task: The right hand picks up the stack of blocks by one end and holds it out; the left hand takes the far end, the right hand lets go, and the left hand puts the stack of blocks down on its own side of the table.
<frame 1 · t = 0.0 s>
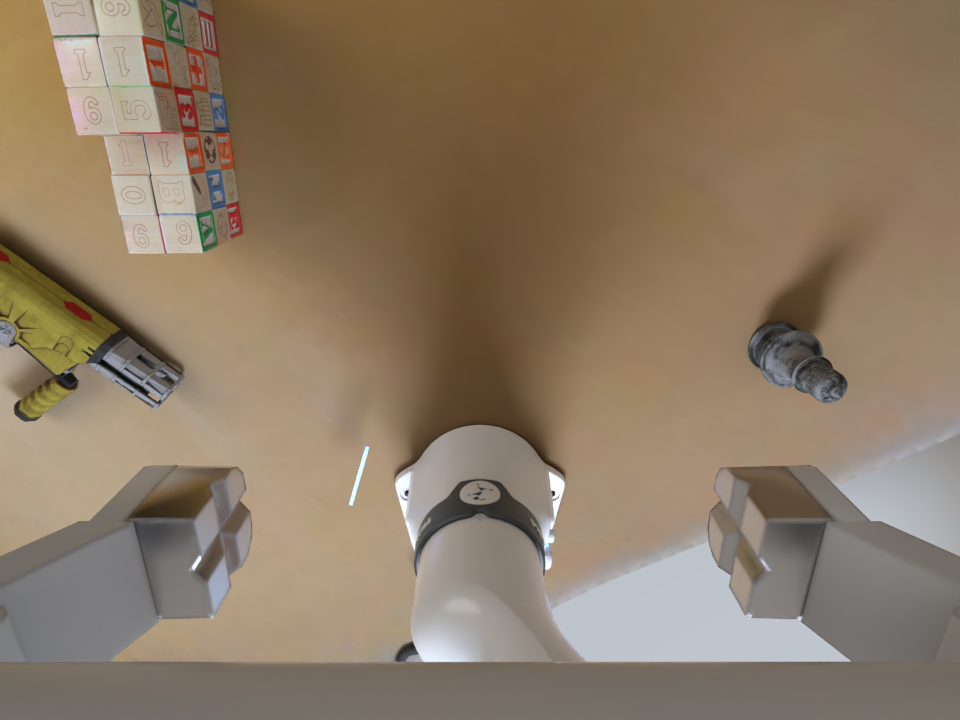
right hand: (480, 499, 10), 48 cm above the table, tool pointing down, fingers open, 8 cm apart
toy gun: (49, 346, 60), on the table
stack of blocks: (193, 114, 52), on the table
grey chess piece: (773, 346, 60), on the table
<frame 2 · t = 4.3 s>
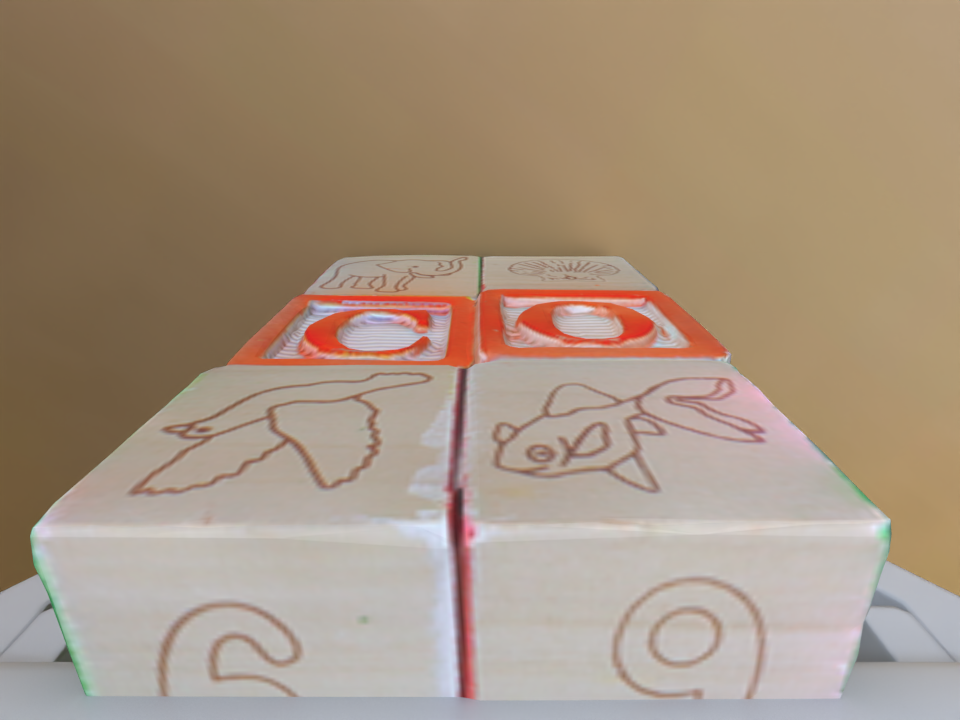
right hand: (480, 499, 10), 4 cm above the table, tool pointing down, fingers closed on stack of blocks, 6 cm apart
stack of blocks: (478, 631, 17), on the table, touching right hand
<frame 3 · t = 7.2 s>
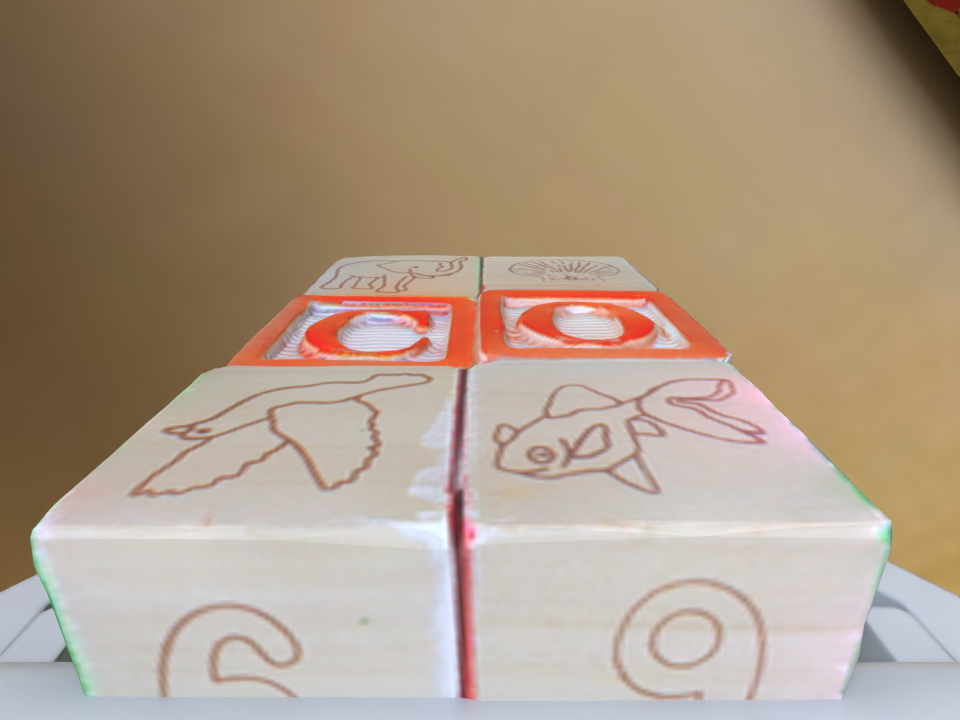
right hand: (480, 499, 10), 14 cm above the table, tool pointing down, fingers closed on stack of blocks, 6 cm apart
stack of blocks: (478, 631, 17), point 10 cm above the table, touching right hand
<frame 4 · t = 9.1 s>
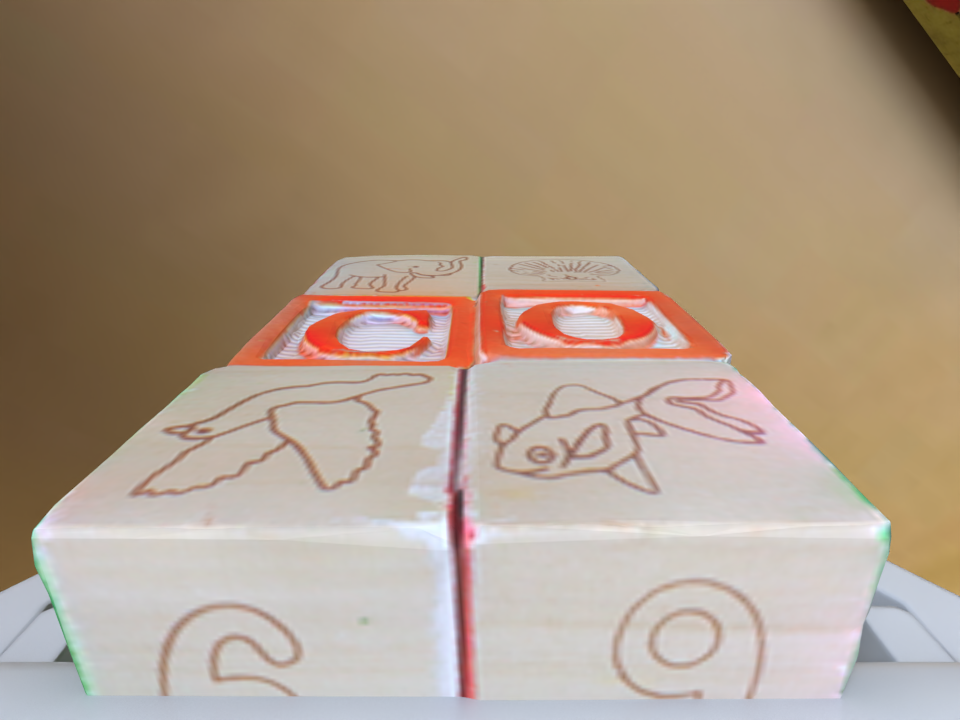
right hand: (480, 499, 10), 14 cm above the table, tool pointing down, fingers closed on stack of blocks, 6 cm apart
stack of blocks: (478, 630, 17), point 10 cm above the table, touching right hand, left hand
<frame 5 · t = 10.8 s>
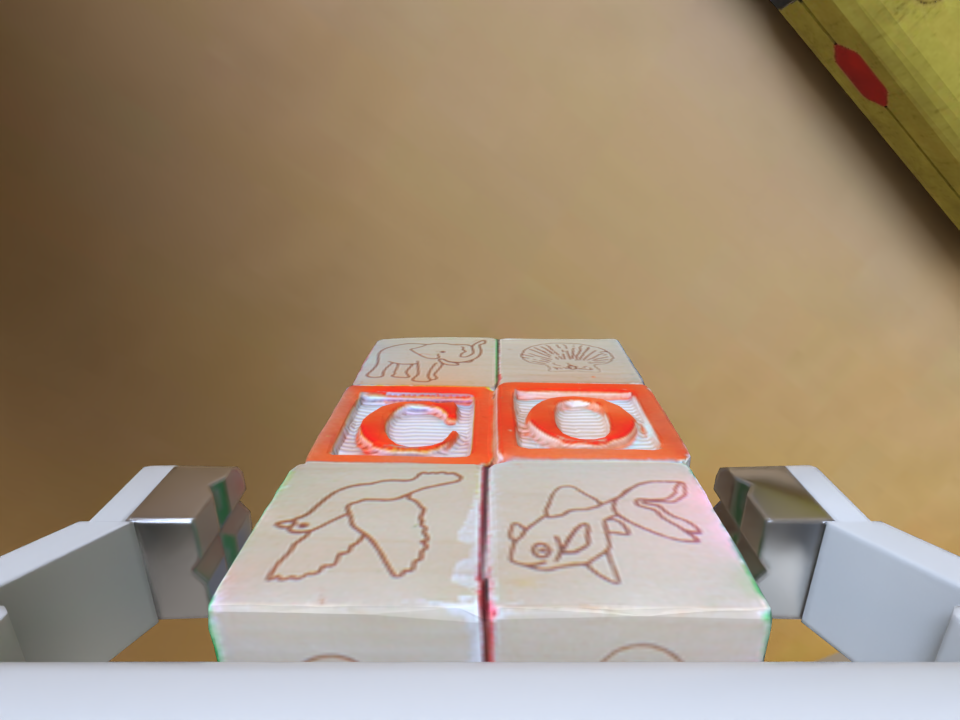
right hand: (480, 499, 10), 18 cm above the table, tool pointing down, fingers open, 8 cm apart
stack of blocks: (492, 656, 19), point 12 cm above the table, touching left hand
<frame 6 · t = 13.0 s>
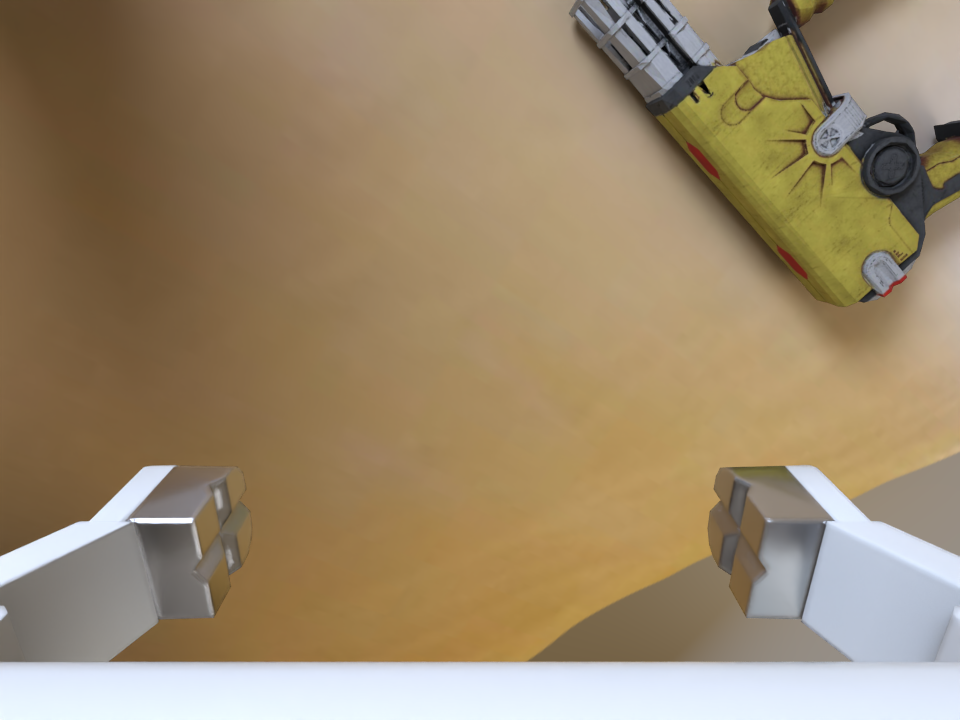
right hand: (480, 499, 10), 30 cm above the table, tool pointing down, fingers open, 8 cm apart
toy gun: (798, 75, 34), on the table
when the left hand's fingers open (10 cm above the table, at t = 17.0 s): stack of blocks drops 2 cm, on the table.
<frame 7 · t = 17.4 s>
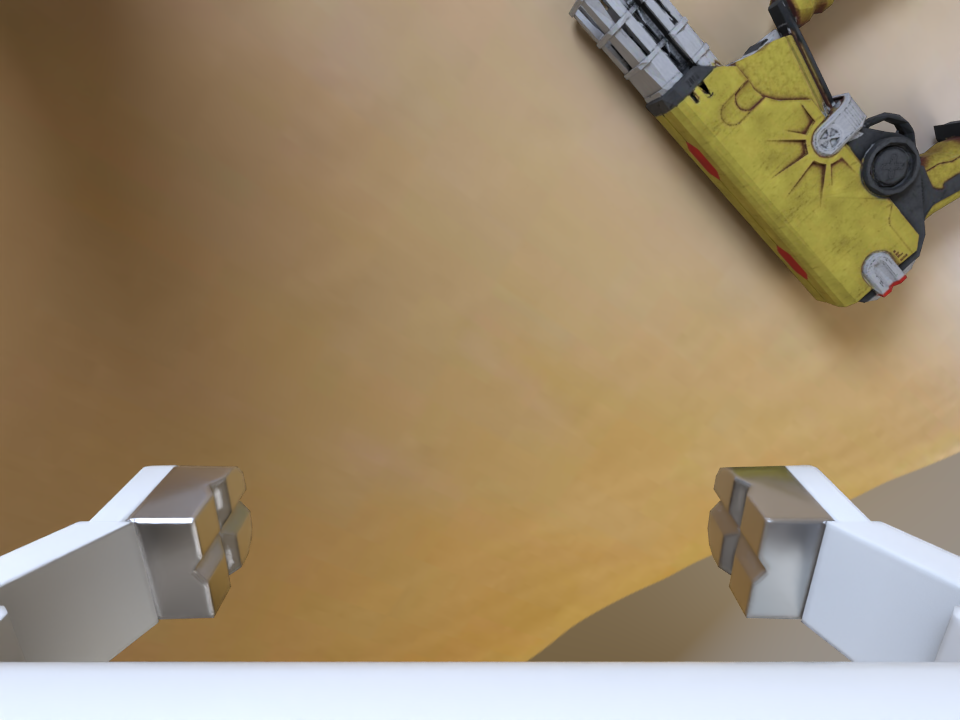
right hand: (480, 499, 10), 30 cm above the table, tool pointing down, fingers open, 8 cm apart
toy gun: (798, 76, 34), on the table
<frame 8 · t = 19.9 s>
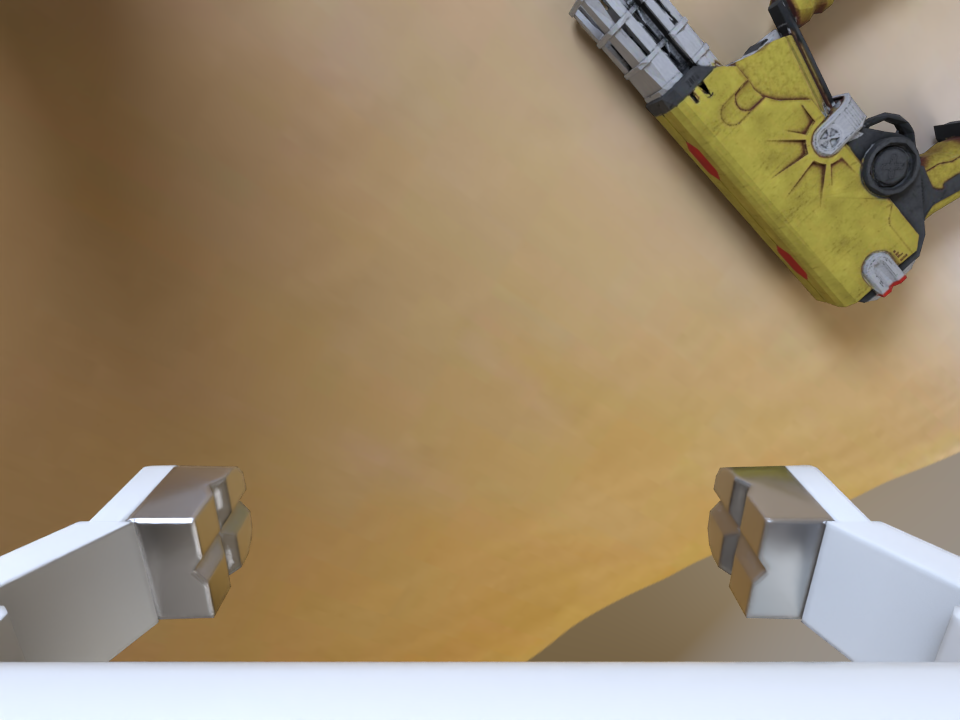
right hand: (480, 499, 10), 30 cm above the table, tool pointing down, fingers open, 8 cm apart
toy gun: (798, 76, 34), on the table
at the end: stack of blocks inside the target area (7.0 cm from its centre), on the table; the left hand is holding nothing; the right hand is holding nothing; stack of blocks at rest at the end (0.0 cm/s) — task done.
